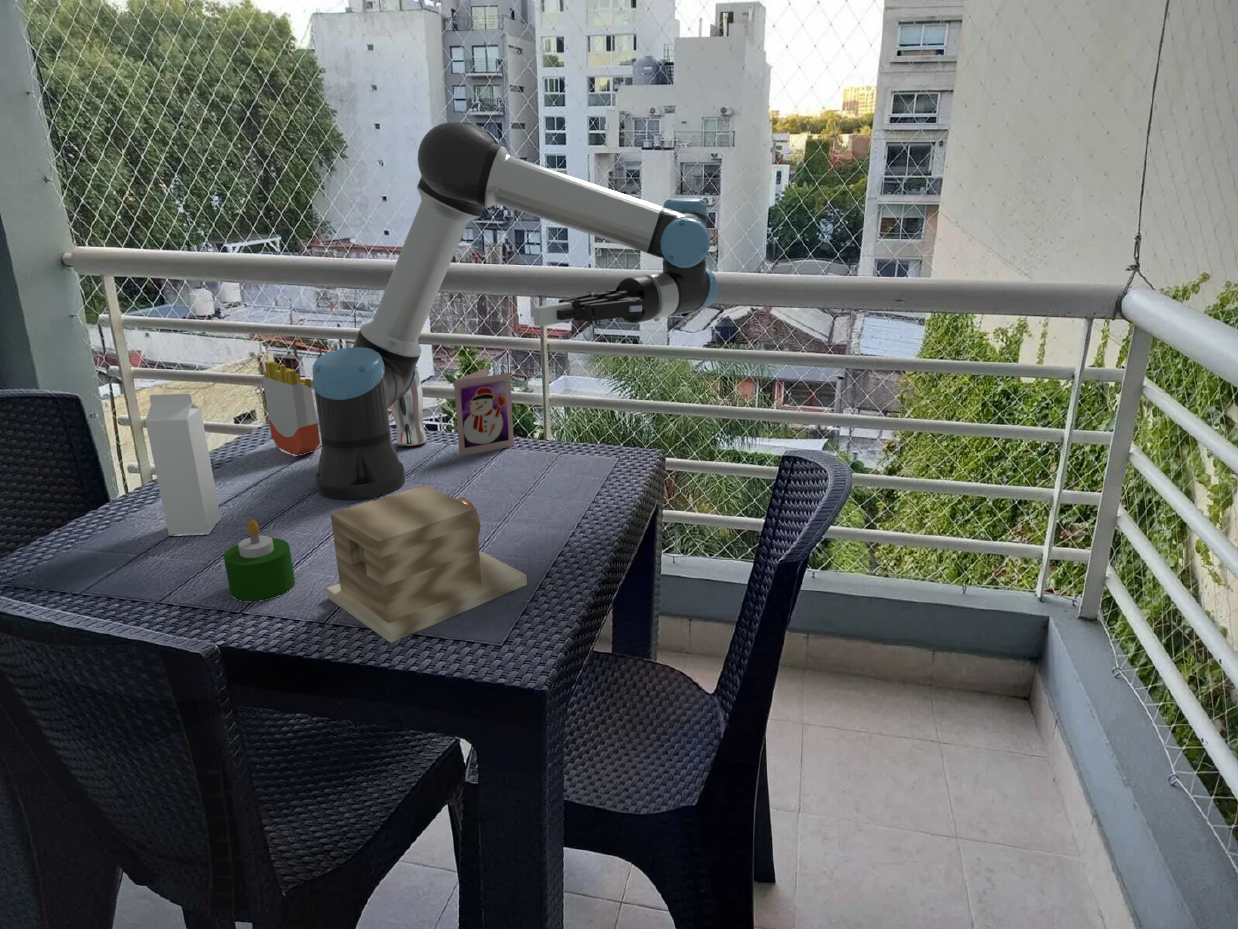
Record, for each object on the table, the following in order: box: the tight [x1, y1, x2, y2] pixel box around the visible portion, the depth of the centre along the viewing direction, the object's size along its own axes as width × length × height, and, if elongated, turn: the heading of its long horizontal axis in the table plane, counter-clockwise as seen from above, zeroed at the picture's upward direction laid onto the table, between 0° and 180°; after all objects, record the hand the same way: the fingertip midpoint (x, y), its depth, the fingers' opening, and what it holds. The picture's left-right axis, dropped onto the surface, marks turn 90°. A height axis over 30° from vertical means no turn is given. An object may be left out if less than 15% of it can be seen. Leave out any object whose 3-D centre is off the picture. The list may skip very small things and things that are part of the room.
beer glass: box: [389, 366, 429, 447], centre depth 175 cm, size 7×7×15 cm
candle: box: [223, 519, 296, 602], centre depth 118 cm, size 8×8×10 cm
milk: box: [145, 393, 222, 535], centre depth 135 cm, size 6×6×22 cm
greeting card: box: [453, 367, 515, 457], centre depth 172 cm, size 11×7×15 cm, turn 120°
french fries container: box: [261, 360, 321, 455], centre depth 170 cm, size 5×11×18 cm, turn 50°
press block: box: [326, 484, 528, 644], centre depth 116 cm, size 21×16×12 cm
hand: (536, 316), depth 133 cm, fingers closed
